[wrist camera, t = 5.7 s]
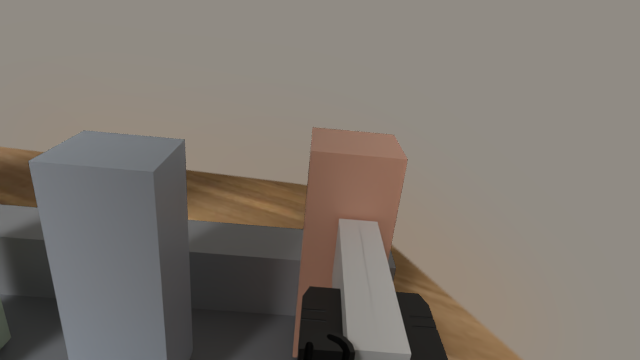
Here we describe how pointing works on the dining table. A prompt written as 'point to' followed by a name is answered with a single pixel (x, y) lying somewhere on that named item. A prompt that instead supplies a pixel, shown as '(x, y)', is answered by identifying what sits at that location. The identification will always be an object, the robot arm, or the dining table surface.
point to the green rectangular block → (3, 327)
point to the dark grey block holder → (205, 282)
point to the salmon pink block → (346, 198)
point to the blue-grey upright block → (118, 244)
